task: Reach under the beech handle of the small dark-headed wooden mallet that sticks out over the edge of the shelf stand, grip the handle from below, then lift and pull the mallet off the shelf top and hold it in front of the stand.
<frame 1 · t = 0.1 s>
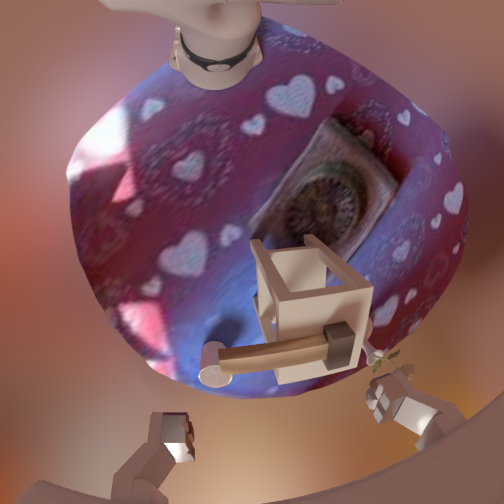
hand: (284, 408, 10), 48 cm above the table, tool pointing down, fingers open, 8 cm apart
shelf stand: (282, 270, 62), on the table
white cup: (214, 349, 67), on the table
mallet: (292, 346, 37), point 26 cm above the table, touching shelf stand
flower in vase: (355, 326, 72), on the table
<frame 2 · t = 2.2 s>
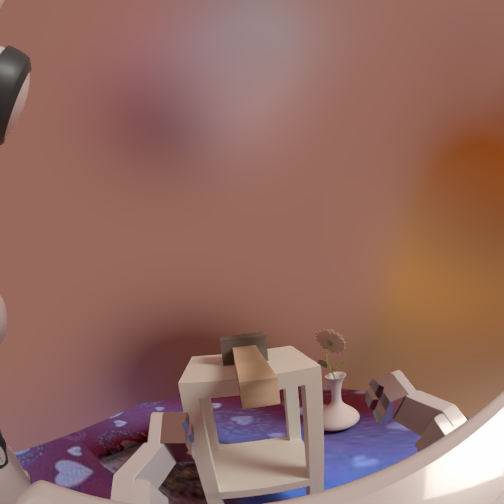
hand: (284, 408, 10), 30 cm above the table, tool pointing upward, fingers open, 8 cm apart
shelf stand: (263, 496, 30), on the table
mallet: (249, 372, 29), point 26 cm above the table, touching shelf stand
flower in vase: (335, 423, 54), on the table
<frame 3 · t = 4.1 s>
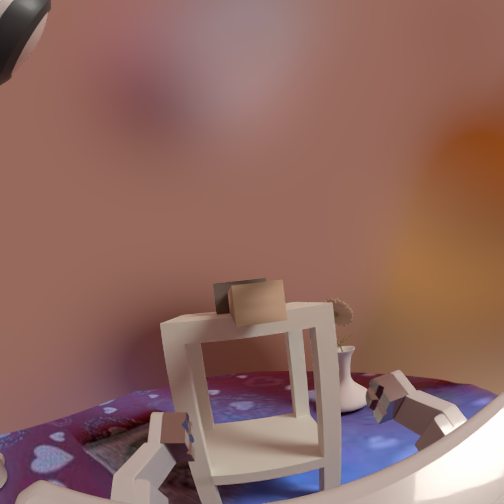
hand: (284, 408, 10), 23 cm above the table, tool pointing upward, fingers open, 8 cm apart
shelf stand: (267, 485, 26), on the table
mallet: (246, 313, 26), point 26 cm above the table, touching shelf stand
flower in vase: (344, 405, 50), on the table
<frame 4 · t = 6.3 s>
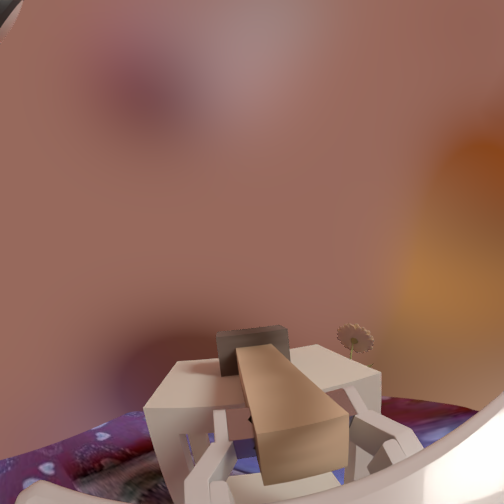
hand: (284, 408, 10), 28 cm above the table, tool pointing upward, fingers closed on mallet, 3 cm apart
mallet: (264, 389, 17), point 26 cm above the table, touching gripper, shelf stand
flower in vase: (359, 437, 42), on the table
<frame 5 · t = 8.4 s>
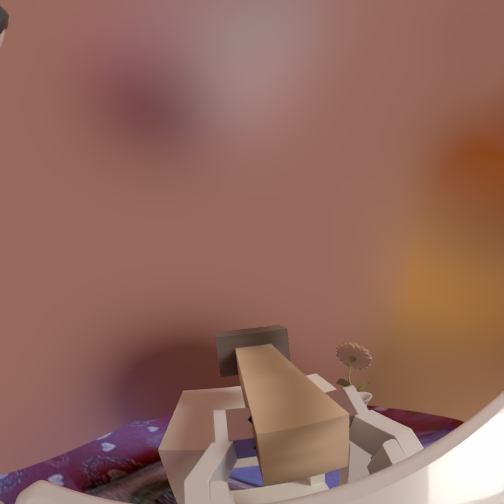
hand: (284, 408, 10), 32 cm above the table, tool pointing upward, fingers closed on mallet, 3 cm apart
mallet: (264, 389, 17), point 30 cm above the table, touching gripper
flower in vase: (356, 449, 42), on the table
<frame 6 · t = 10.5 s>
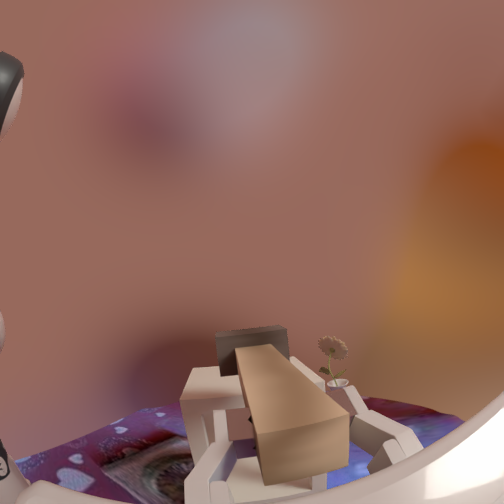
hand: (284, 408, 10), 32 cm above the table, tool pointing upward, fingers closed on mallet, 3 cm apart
mallet: (263, 389, 17), point 30 cm above the table, touching gripper
flower in vase: (337, 430, 53), on the table
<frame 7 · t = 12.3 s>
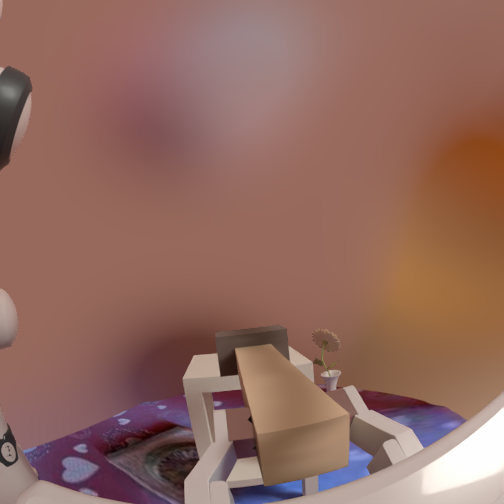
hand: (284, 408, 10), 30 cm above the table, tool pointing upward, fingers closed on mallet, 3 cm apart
shelf stand: (262, 488, 33), on the table
mallet: (263, 389, 17), point 29 cm above the table, touching gripper
flower in vase: (331, 420, 57), on the table
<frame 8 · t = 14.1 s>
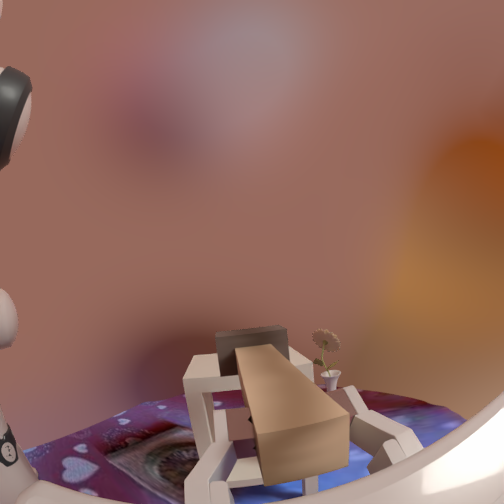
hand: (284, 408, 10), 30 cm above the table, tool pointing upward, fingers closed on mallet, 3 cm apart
shelf stand: (262, 488, 33), on the table
mallet: (263, 389, 17), point 29 cm above the table, touching gripper
flower in vase: (331, 420, 57), on the table
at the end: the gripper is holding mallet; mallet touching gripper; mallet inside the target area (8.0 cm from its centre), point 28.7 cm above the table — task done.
